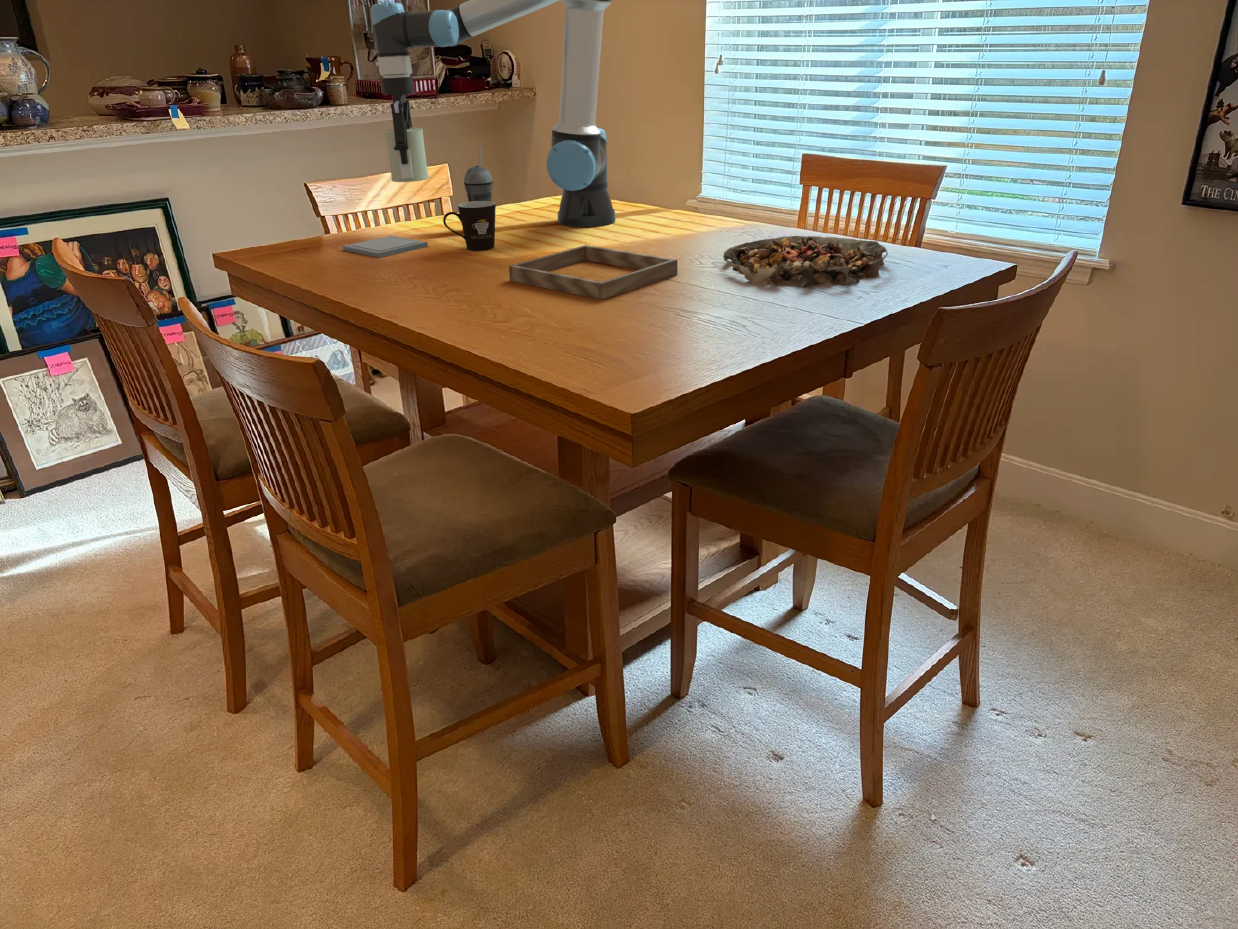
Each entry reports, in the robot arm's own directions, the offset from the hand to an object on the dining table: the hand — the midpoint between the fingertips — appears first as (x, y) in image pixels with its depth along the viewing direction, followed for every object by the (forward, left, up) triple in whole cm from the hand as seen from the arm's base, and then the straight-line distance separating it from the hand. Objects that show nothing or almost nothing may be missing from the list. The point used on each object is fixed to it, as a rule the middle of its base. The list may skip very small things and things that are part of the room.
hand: (409, 175), depth 223 cm
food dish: (-100, -22, -15) cm, 103 cm away
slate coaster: (-9, +16, -14) cm, 23 cm away
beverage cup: (-12, -12, -14) cm, 22 cm away
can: (0, 0, -1) cm, 1 cm away
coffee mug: (-27, +4, -14) cm, 31 cm away
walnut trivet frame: (-69, +9, -14) cm, 71 cm away
